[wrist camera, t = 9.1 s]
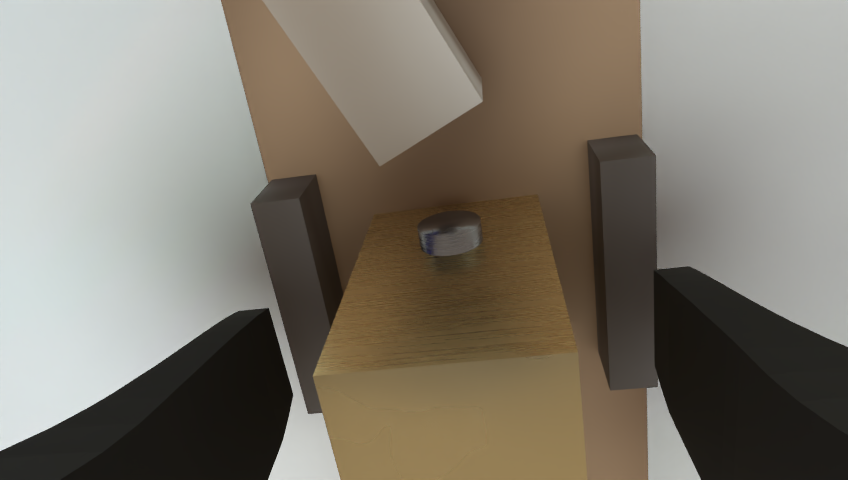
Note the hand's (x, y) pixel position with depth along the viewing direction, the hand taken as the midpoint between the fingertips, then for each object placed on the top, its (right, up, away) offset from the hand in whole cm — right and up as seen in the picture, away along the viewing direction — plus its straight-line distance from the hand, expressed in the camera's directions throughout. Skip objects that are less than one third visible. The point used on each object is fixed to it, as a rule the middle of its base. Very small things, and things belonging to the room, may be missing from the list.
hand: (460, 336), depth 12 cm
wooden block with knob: (0, +1, +3) cm, 3 cm away
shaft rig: (0, +2, +4) cm, 4 cm away
